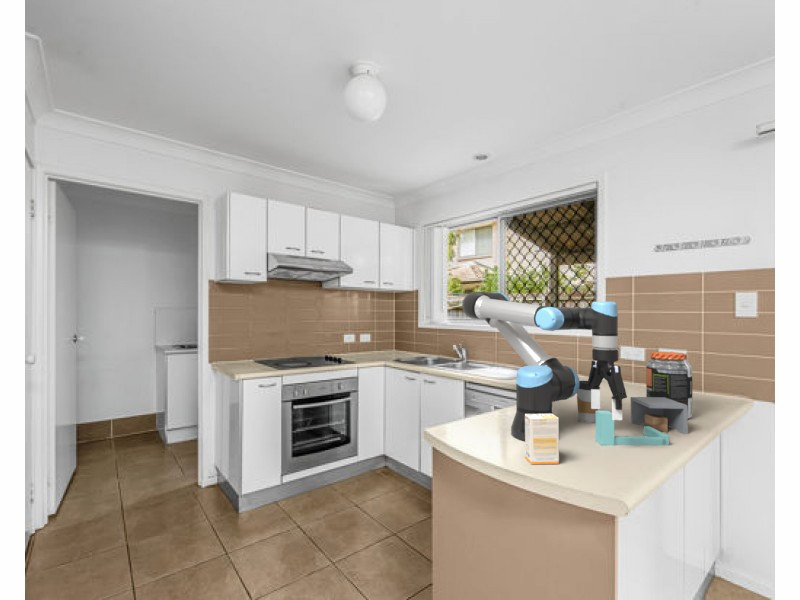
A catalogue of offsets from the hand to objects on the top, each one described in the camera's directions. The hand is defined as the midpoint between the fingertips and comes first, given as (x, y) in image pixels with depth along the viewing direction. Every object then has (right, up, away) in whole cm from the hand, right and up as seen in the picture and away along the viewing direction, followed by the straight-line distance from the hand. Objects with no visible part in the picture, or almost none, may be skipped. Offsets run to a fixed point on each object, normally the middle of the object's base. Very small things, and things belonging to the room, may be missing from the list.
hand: (605, 414), depth 125 cm
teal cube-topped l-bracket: (+9, -10, +3) cm, 13 cm away
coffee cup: (+6, -10, +25) cm, 28 cm away
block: (+26, -10, +15) cm, 31 cm away
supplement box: (-27, -9, -15) cm, 32 cm away
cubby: (+28, -10, +16) cm, 34 cm away
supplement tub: (+44, -11, +34) cm, 57 cm away
